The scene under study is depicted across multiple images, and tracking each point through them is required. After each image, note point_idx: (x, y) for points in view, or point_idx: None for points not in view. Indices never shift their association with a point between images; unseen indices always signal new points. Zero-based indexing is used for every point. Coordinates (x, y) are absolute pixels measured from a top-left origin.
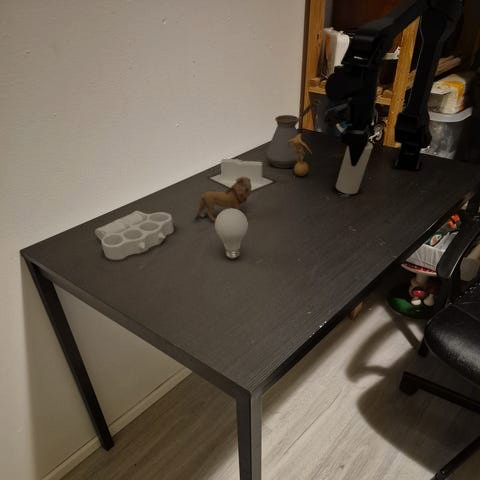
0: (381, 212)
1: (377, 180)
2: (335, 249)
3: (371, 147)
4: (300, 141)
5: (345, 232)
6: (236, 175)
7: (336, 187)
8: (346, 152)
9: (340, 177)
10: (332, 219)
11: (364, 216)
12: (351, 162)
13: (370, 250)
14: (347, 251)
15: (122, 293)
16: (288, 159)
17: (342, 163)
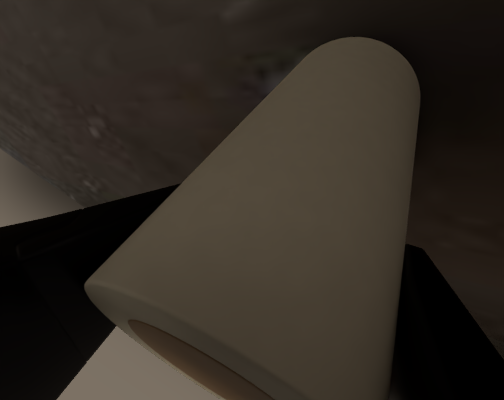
0: None
1: (492, 263)
2: (15, 89)
3: (205, 388)
4: None
5: (74, 110)
6: None
7: (320, 46)
8: (199, 180)
9: (284, 79)
10: (102, 64)
11: (163, 164)
12: (169, 189)
13: (60, 161)
14: (28, 116)
15: None
16: None
17: (287, 105)
